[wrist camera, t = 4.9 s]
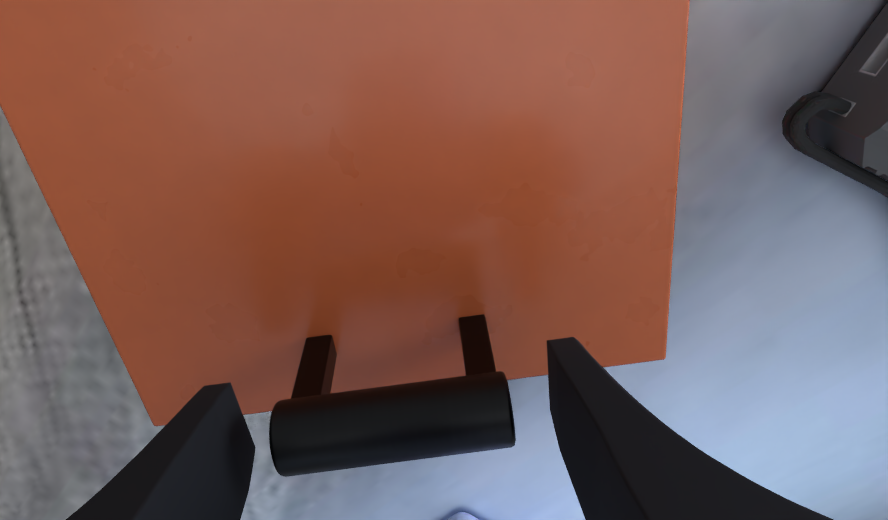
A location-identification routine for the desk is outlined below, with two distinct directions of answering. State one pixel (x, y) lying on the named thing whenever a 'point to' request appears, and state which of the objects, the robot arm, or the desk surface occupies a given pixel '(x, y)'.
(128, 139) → the lid
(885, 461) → the desk surface
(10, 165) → the desk surface
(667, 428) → the robot arm
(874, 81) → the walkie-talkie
